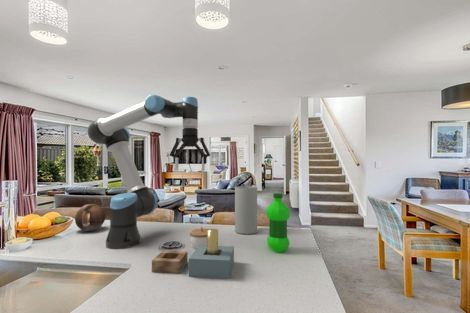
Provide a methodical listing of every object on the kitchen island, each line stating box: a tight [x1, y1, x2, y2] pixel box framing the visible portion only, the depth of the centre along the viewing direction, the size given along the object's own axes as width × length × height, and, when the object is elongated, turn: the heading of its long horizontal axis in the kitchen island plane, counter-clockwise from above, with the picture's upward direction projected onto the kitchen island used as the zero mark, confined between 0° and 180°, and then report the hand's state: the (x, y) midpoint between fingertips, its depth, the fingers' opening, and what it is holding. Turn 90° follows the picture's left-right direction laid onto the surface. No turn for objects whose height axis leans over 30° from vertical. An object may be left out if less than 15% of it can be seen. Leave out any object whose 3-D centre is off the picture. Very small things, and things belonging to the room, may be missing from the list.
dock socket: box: [188, 245, 235, 279], centre depth 91 cm, size 14×14×6 cm
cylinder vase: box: [234, 185, 258, 235], centre depth 140 cm, size 12×12×25 cm
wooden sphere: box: [74, 203, 107, 232], centre depth 141 cm, size 15×15×15 cm
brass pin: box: [207, 228, 219, 255], centre depth 91 cm, size 4×4×14 cm
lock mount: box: [151, 250, 189, 274], centre depth 93 cm, size 10×10×4 cm
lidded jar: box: [189, 227, 209, 251], centre depth 112 cm, size 11×11×9 cm
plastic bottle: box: [266, 192, 291, 253], centre depth 110 cm, size 10×10×25 cm
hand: (189, 170), depth 124 cm, fingers open, 13 cm apart
